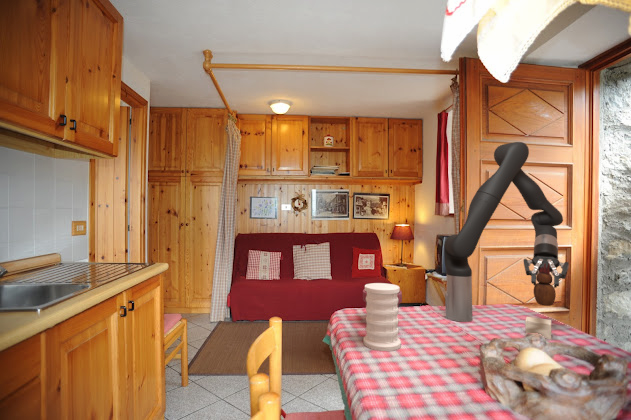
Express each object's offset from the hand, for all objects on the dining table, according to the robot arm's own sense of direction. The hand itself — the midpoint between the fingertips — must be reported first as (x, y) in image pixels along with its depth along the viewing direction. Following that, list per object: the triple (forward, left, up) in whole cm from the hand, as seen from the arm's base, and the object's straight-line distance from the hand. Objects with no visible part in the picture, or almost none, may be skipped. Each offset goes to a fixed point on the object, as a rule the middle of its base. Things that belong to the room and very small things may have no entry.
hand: (544, 285), depth 113 cm
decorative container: (-41, -45, -17) cm, 63 cm away
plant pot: (-49, -28, -17) cm, 59 cm away
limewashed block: (-2, -6, -16) cm, 17 cm away
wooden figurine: (0, +2, -8) cm, 8 cm away
